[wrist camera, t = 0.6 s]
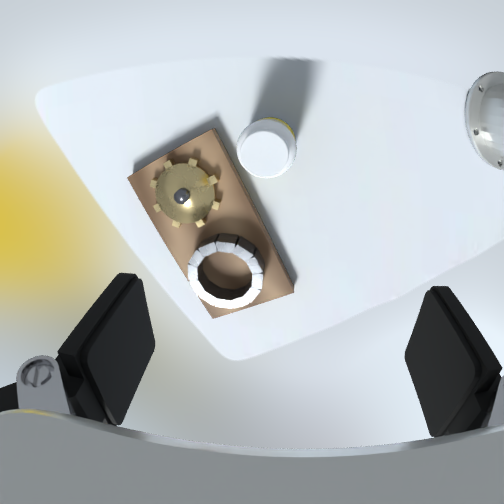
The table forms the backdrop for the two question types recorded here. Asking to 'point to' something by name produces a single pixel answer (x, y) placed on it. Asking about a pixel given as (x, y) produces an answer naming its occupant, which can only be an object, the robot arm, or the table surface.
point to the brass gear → (185, 192)
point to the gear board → (216, 224)
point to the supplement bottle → (267, 147)
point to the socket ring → (224, 295)
